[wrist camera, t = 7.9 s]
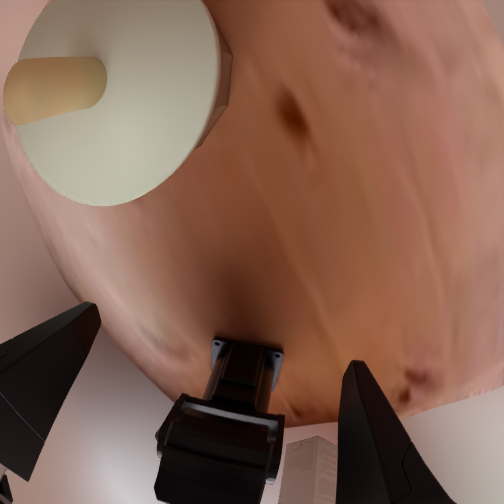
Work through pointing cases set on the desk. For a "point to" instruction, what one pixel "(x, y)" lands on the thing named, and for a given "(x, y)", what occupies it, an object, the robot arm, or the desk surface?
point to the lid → (114, 94)
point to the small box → (309, 472)
